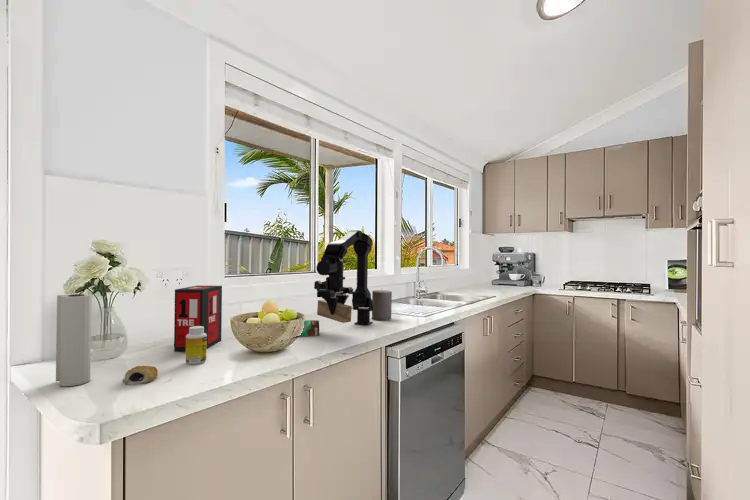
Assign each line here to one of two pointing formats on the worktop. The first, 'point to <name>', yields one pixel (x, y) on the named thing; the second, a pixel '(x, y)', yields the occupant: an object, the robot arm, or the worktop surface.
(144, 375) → the pastry
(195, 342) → the supplement bottle
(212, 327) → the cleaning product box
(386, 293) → the pillar candle
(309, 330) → the food container
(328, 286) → the robot arm
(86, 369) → the grey tall cylinder
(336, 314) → the block
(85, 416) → the worktop surface
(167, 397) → the worktop surface
